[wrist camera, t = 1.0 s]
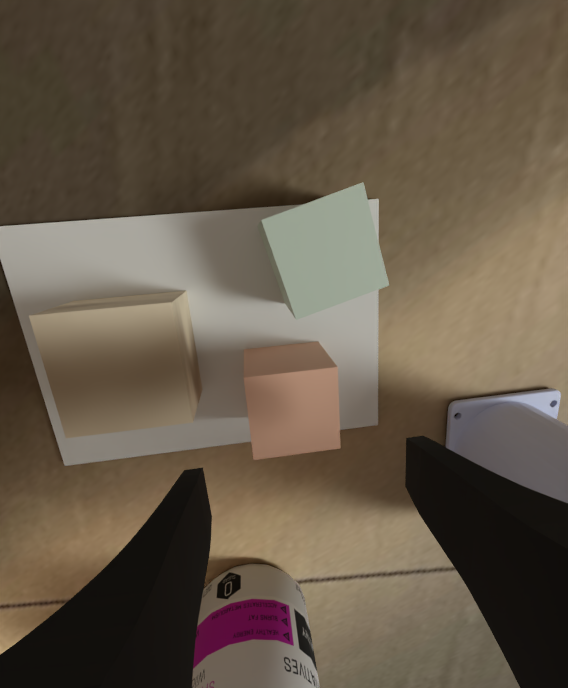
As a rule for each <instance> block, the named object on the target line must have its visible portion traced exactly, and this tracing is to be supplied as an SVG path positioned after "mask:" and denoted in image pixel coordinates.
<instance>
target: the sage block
mask: <svg viewBox="0 0 568 688" xmlns="http://www.w3.org/2000/svg"><path fill="white" fill-rule="evenodd" d="M258 229H259V232H260V235H261V238H262V241H263V243H264V246H265V249H266V252H267V255H268V257H269V260H270V263H271V266H272V269H273V271H274V274H275V277H276V280H277V283H278V286H279V288H280V291H281V294H282V297H283V300H284V302H285V304H286V306H287V307H288V309H289V310H290V312H291V313H292V315H293V316H294V318H295V319H296V320H298V319H300V318H303V317H306V316H308V315H311V314H314V313H316V312H319V311H322V310H325V309H327V308H330V307H333V306H335V305H338V304H341V303H343V302H346V301H349V300H351V299H354V298H357V297H359V296H362V295H365V294H367V293H370V292H373V291H375V290H378V289H381V288H384V287H386V286H389V282H388V279H387V275H386V271H385V267H384V263H383V259H382V255H381V251H380V247H379V243H378V239H377V235H376V231H375V227H374V223H373V219H372V215H371V211H370V207H369V203H368V199H367V195H366V191H365V187H364V183H360V184H357V185H355V186H352V187H349V188H347V189H344V190H341V191H339V192H336V193H333V194H330V195H328V196H325V197H322V198H320V199H317V200H314V201H312V202H309V203H306V204H303V205H301V206H298V207H295V208H293V209H290V210H287V211H285V212H282V213H279V214H276V215H274V216H271V217H268V218H266V219H263V220H261V221H260V223H259V224H258Z"/></svg>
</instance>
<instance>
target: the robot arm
mask: <svg viewBox="0 0 568 688" xmlns="http://www.w3.org/2000/svg"><path fill="white" fill-rule="evenodd" d="M560 397H561V393H560V392H559V391H558V390H556V389H552V388H551V389H543V390H535V391H527V392H519V393H511V394H503V395H496V396H488V397H480V398H472V399H464V400H456V401H453V402H452V403H450V405H449V407H448V419H447V434H446V447H444V446H442V445H440V444H439V443H437V442H435V441H433V440H431V439H429V438H427V437H424V436H418V437H411V438H406V488H407V490H408V492H409V494H410V496H411V499H412V501H413V503H414V504H415V506H416V508H417V510H418V512H419V514H420V515H421V517H422V519H423V520H424V522H425V523H426V525H427V526H428V528H429V529H430V531H431V532H432V534H433V535H434V537H435V538H436V540H437V541H438V543H439V544H440V546H441V547H442V549H443V550H444V552H445V553H446V555H447V556H448V558H449V559H450V561H451V562H452V564H453V565H454V567H455V568H456V570H457V571H458V573H459V574H460V576H461V578H462V579H463V581H464V582H465V584H466V586H467V587H468V589H469V591H470V592H471V594H472V596H473V598H474V600H475V602H476V603H477V605H478V607H479V609H480V611H481V612H482V614H483V616H484V618H485V620H486V622H487V623H488V625H489V627H490V629H491V631H492V633H493V635H494V637H495V639H496V641H497V643H498V645H499V646H500V648H501V650H502V652H503V654H504V656H505V658H506V660H507V662H508V664H509V666H510V668H511V670H512V672H513V674H514V676H515V678H516V680H517V682H518V684H519V686H520V688H568V425H566V424H564V423H562V422H560V421H559V420H557V414H558V409H559V403H560ZM456 413H458V415H457V416H455V417H454V415H455V414H456ZM211 522H212V515H211V510H210V504H209V499H208V494H207V488H206V483H205V477H204V472H203V468H197V469H190V470H184V472H183V473H182V474H181V475H180V477H179V478H178V480H177V481H176V482H175V484H174V485H173V487H172V488H171V490H170V491H169V492H168V494H167V495H166V496H165V498H164V499H163V501H162V502H161V503H160V505H159V506H158V507H157V509H156V510H155V511H154V512H153V514H152V515H151V516H150V518H149V519H148V520H147V521H146V523H145V524H144V525H143V526H142V527H141V529H140V530H139V531H138V532H137V533H136V535H135V536H134V537H133V538H132V539H131V541H130V542H129V543H128V544H127V545H126V546H125V547H124V548H123V550H122V551H121V552H120V553H119V554H118V555H117V556H116V557H115V558H114V559H113V560H112V561H111V562H110V563H109V564H108V565H107V566H106V567H105V568H104V569H103V570H102V571H101V572H100V573H99V574H98V575H97V576H96V577H95V578H94V579H93V580H91V581H90V582H89V583H88V584H87V585H86V586H85V587H84V588H83V589H82V590H80V591H79V592H78V593H77V594H76V595H75V596H74V597H73V598H72V599H71V600H69V601H68V602H67V603H66V604H65V605H64V606H62V607H61V608H60V609H59V610H58V611H56V612H55V613H54V614H53V615H52V616H50V617H49V618H48V619H47V620H45V621H44V622H43V623H42V624H40V625H39V626H38V627H37V628H35V629H34V630H33V631H31V632H30V633H29V634H28V635H26V636H25V637H24V638H22V639H21V640H20V641H18V642H17V643H16V644H15V645H13V646H12V647H10V648H9V649H8V650H6V651H5V652H3V653H2V654H1V655H0V688H192V677H193V665H194V652H195V640H196V633H197V625H198V618H199V612H200V606H201V600H202V594H203V588H204V582H205V576H206V570H207V564H208V558H209V552H210V542H211Z"/></svg>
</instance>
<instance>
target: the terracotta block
mask: <svg viewBox="0 0 568 688" xmlns="http://www.w3.org/2000/svg"><path fill="white" fill-rule="evenodd" d="M244 385H245V394H246V402H247V410H248V418H249V427H250V435H251V443H252V451H253V460H259V459H266V458H274V457H281V456H289V455H296V454H303V453H311V452H318V451H325V450H333V449H340V448H341V447H340V418H339V388H338V367H337V365H336V364H335V363H334V361H333V360H332V359H331V357H330V356H329V355H328V354H327V352H326V351H325V350H324V348H323V347H322V346H321V344H320V343H319V342H318V341H317V342H308V343H299V344H290V345H280V346H271V347H262V348H252V349H244Z"/></svg>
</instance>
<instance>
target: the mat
mask: <svg viewBox="0 0 568 688" xmlns="http://www.w3.org/2000/svg"><path fill="white" fill-rule="evenodd" d="M368 203H369V207H370V211H371V215H372V219H373V223H374V227H375V231H376V235H377V239H378V220H379V199H371V200H368ZM302 205H303V204H302ZM298 206H301V205H288V206H274V207H261V208H247V209H233V210H219V211H205V212H192V213H178V214H164V215H150V216H137V217H123V218H109V219H95V220H81V221H68V222H54V223H40V224H26V225H12V226H0V260H1V263H2V266H3V269H4V273H5V276H6V279H7V282H8V285H9V289H10V292H11V295H12V298H13V301H14V305H15V308H16V311H17V314H18V318H19V321H20V324H21V327H22V330H23V334H24V337H25V340H26V343H27V346H28V350H29V353H30V356H31V359H32V363H33V366H34V369H35V372H36V375H37V379H38V382H39V385H40V388H41V391H42V395H43V398H44V401H45V404H46V407H47V411H48V414H49V417H50V420H51V424H52V427H53V430H54V433H55V436H56V440H57V443H58V446H59V449H60V452H61V456H62V459H63V462H64V465H65V466H69V465H76V464H84V463H91V462H99V461H107V460H114V459H122V458H130V457H137V456H145V455H153V454H160V453H168V452H176V451H183V450H191V449H199V448H206V447H214V446H221V445H229V444H237V443H244V442H251V435H250V427H249V418H248V410H247V402H246V394H245V385H244V349H252V348H262V347H271V346H280V345H290V344H299V343H308V342H317V341H318V342H319V343H320V344H321V346H322V347H323V348H324V350H325V351H326V352H327V354H328V355H329V356H330V357H331V359H332V360H333V361H334V363H335V364H336V365H337V367H338V388H339V418H340V430H344V429H351V428H359V427H367V426H374V425H378V290H375V291H373V292H370V293H367V294H365V295H362V296H359V297H357V298H354V299H351V300H349V301H346V302H343V303H341V304H338V305H335V306H333V307H330V308H327V309H325V310H322V311H319V312H316V313H314V314H311V315H308V316H306V317H303V318H300V319H298V320H296V319H295V318H294V316H293V315H292V313H291V312H290V310H289V309H288V307H287V306H286V304H285V302H284V300H283V297H282V294H281V291H280V288H279V286H278V283H277V280H276V277H275V274H274V271H273V269H272V266H271V263H270V260H269V257H268V255H267V252H266V249H265V246H264V243H263V241H262V238H261V235H260V232H259V229H258V224H259V223H260V221H261V220H263V219H266V218H268V217H271V216H274V215H276V214H279V213H282V212H285V211H287V210H290V209H293V208H295V207H298ZM176 291H187V296H188V302H189V309H190V315H191V321H192V327H193V334H194V340H195V346H196V352H197V358H198V365H199V371H200V377H201V383H202V389H203V390H202V393H201V397H200V400H199V403H198V407H197V410H196V414H195V417H194V421H193V423H186V424H178V425H170V426H162V427H154V428H146V429H138V430H130V431H122V432H113V433H105V434H97V435H89V436H81V437H73V438H66V437H65V434H64V431H63V427H62V424H61V421H60V417H59V414H58V411H57V408H56V404H55V401H54V398H53V394H52V391H51V388H50V384H49V381H48V378H47V374H46V371H45V368H44V364H43V361H42V358H41V355H40V351H39V348H38V345H37V341H36V338H35V335H34V331H33V328H32V325H31V321H30V318H29V315H32V314H35V313H39V312H42V311H45V310H48V309H51V308H54V307H57V306H60V305H63V304H66V303H69V302H72V301H78V300H89V299H100V298H111V297H122V296H133V295H144V294H155V293H166V292H176Z"/></svg>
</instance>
